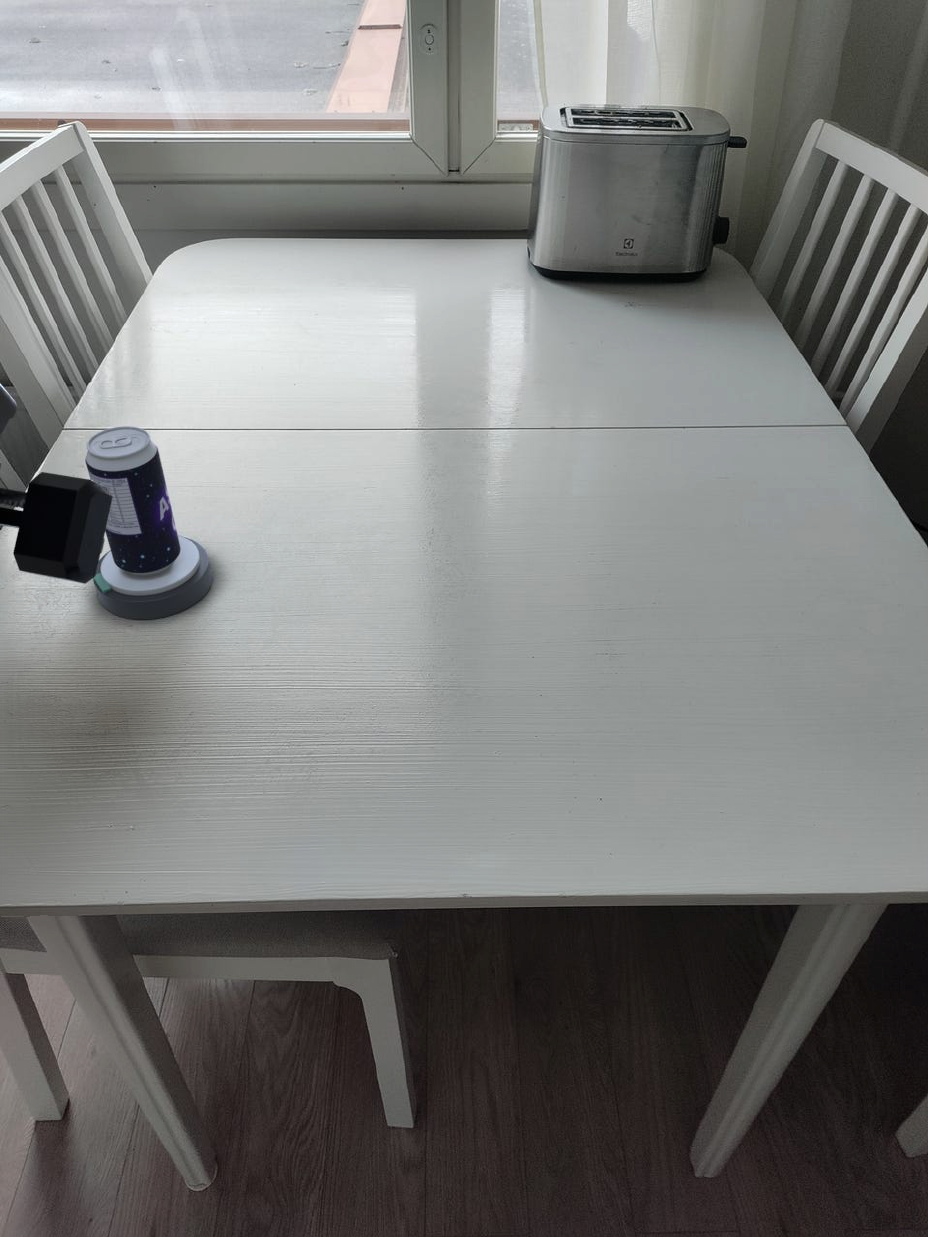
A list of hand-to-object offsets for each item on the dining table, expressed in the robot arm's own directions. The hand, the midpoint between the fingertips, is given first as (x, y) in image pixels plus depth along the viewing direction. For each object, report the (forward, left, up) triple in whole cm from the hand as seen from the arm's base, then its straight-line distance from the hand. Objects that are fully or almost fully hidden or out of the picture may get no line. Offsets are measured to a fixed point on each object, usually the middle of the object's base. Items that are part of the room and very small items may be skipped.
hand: (43, 535), depth 68 cm
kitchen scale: (+9, +8, -14) cm, 18 cm away
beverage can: (+9, +8, -11) cm, 16 cm away
